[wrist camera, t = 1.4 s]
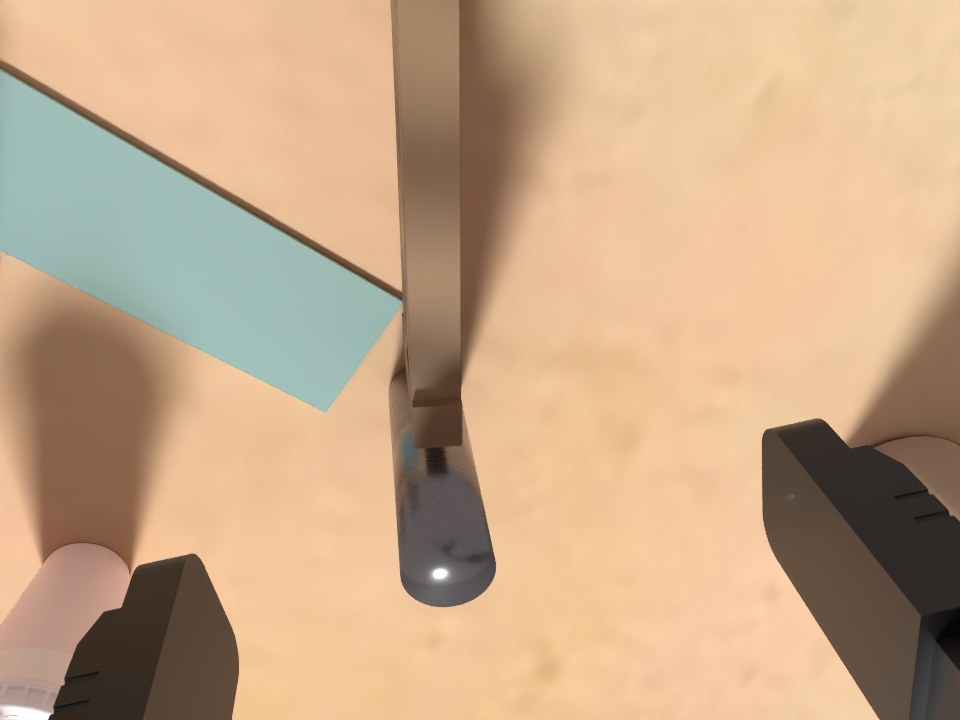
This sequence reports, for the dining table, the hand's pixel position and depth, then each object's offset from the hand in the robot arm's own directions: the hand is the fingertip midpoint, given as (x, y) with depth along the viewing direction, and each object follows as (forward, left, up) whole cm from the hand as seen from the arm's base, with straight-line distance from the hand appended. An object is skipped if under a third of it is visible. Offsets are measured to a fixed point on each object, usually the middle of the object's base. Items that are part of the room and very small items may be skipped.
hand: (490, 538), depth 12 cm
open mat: (+9, +4, -22) cm, 24 cm away
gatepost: (0, +10, -22) cm, 24 cm away
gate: (0, -1, -21) cm, 21 cm away
